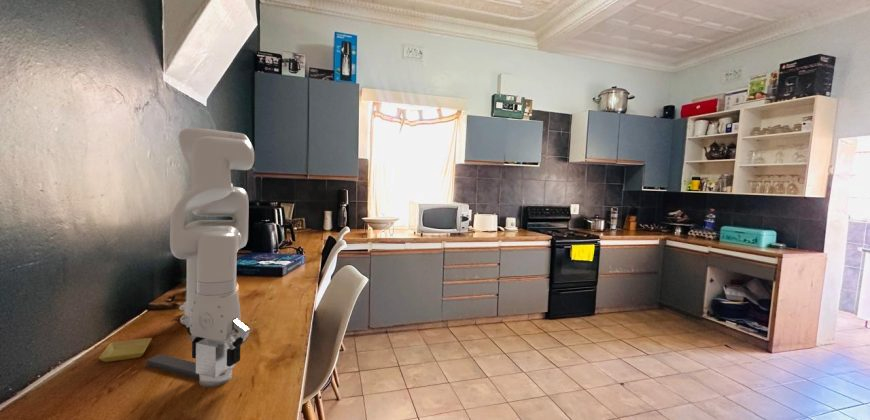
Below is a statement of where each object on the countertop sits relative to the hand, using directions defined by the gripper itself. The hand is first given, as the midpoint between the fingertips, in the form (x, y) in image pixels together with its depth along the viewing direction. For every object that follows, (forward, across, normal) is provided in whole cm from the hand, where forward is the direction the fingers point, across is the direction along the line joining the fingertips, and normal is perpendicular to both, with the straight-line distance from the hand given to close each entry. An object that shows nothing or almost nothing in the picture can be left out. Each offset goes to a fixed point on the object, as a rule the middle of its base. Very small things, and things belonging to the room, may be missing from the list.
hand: (216, 359), depth 82 cm
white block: (+2, 0, 0) cm, 2 cm away
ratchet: (+5, -8, 0) cm, 9 cm away
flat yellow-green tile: (+5, -29, +1) cm, 29 cm away
